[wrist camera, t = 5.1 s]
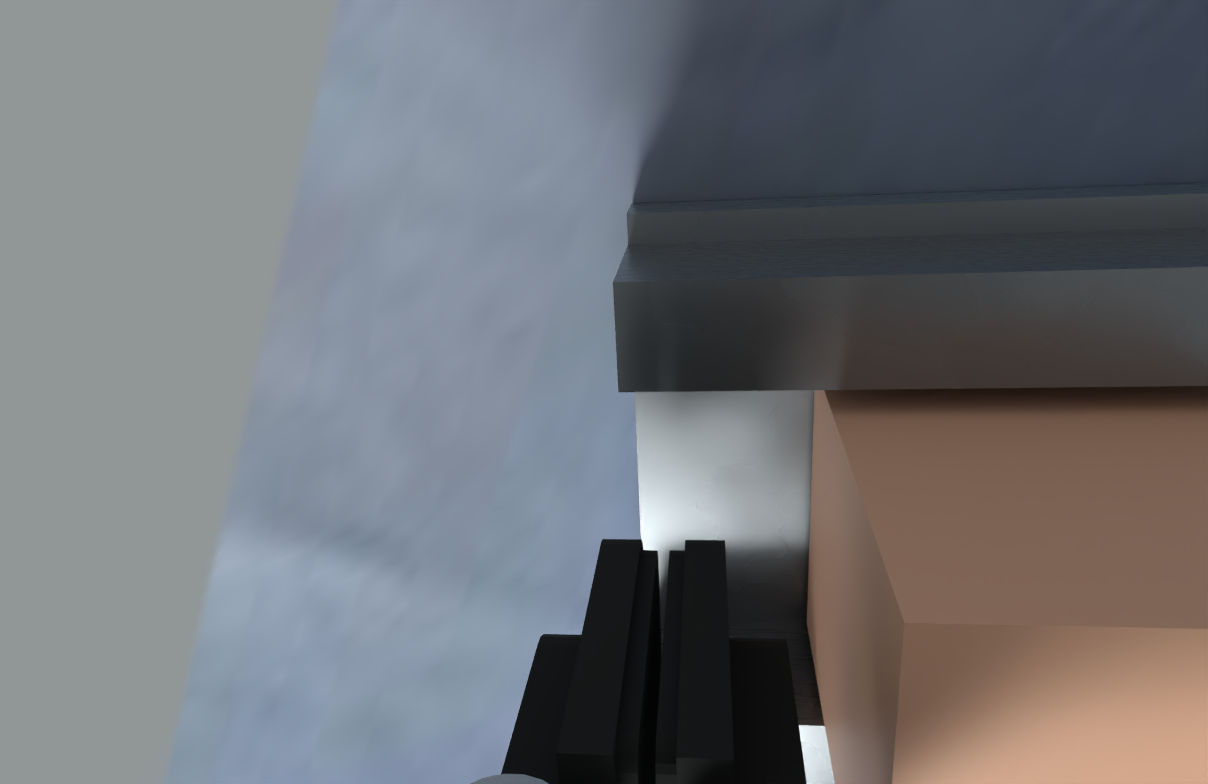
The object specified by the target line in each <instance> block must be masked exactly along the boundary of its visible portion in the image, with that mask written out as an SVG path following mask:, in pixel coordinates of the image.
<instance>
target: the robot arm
mask: <svg viewBox="0 0 1208 784" xmlns="http://www.w3.org/2000/svg"><path fill="white" fill-rule="evenodd" d="M471 784H807V782H806V774H805V767H804V760H803V753H802V745H801V738H800V731H799V724H798V716H797V709H796V702H795V695H794V687H793V680H792V673H791V666H790V658H789V651H788V645H787V641H786V639H762V638H729V624H728V599H727V574H726V549H725V540H685V551H681V550H670V552H669V564H668V578H667V592H666V606H665V620H664V634H663V648H662V641H661V615H660V589H659V563H658V551H657V550H643V542H642V540H626V539H603V540H602V542H601V546H600V551H599V555H598V560H597V565H596V569H595V574H594V579H593V584H592V588H591V593H590V598H589V602H588V607H587V612H586V617H585V621H584V626H583V631H582V635H559V634H543V635H542V636H541V637H540V640H539V643H538V646H537V649H536V653H535V656H534V660H533V663H532V667H531V670H530V674H529V677H528V681H527V685H526V688H525V692H524V695H523V699H522V702H521V706H520V709H519V713H518V716H517V720H516V723H515V727H514V731H513V734H512V738H511V741H510V745H509V748H508V752H507V755H506V759H505V762H504V766H503V769H502V773H501V774H500V775H495V776H491V777H486V778H482V779H480V780H478V781H476V782H473V783H471Z"/></svg>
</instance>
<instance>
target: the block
mask: <svg viewBox="0 0 1208 784" xmlns="http://www.w3.org/2000/svg"><path fill="white" fill-rule="evenodd" d="M807 627H808V633H809V639H810V645H811V650H812V656H813V662H814V667H815V673H816V679H817V685H818V690H819V696H820V702H821V708H822V713H823V719H824V725H825V731H826V736H827V742H828V748H829V753H830V759H831V765H832V771H833V776H834V782H835V784H1208V386H1150V387H1059V388H967V389H875V390H815V393H814V423H813V452H812V482H811V512H810V542H809V571H808V601H807Z"/></svg>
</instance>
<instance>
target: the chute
mask: <svg viewBox="0 0 1208 784" xmlns="http://www.w3.org/2000/svg"><path fill="white" fill-rule="evenodd" d="M627 227H628V247H627V249H626V252H625V254H624V257H623V259H622V261H621V264H620V266H619V269H618V271H617V274H616V276H615V279H614V281H613V291H614V311H615V331H616V351H617V370H618V390H619V392H635V411H636V434H637V457H638V480H639V503H640V526H641V540H642V542H643V550H657V551H658V563H659V589H660V615H661V641H662V648H663V634H664V620H665V606H666V592H667V578H668V564H669V552H670V550H681V551H685V540H725V549H726V574H727V599H728V624H729V638H762V639H786V641H787V645H788V651H789V658H790V666H791V673H792V680H793V687H794V695H795V702H796V709H797V716H798V724H799V731H800V738H801V745H802V753H803V760H804V767H805V774H806V782H807V784H835V782H834V776H833V771H832V765H831V759H830V753H829V748H828V742H827V736H826V731H825V725H824V719H823V713H822V708H821V702H820V696H819V690H818V685H817V679H816V673H815V667H814V662H813V656H812V650H811V645H810V639H809V633H808V627H807V601H808V571H809V542H810V512H811V482H812V452H813V423H814V393H815V390H875V389H967V388H1059V387H1150V386H1208V183H1187V184H1160V185H1132V186H1105V187H1077V188H1050V189H1023V190H995V191H968V192H941V193H913V194H886V195H859V196H831V197H804V198H776V199H749V200H722V201H694V202H667V203H640V204H631V207H630V209H629V211H628V213H627Z"/></svg>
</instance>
